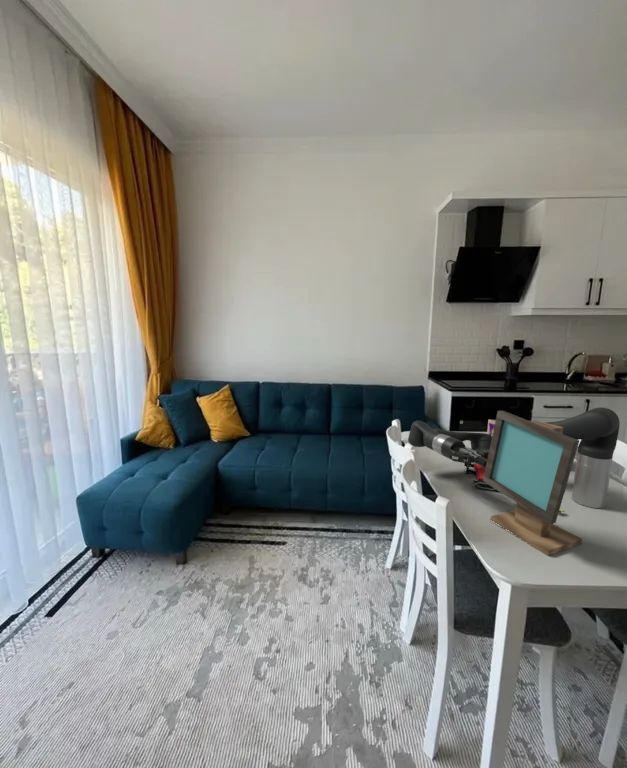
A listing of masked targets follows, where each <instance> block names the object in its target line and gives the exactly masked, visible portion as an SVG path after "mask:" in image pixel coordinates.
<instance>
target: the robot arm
mask: <svg viewBox="0 0 627 768" xmlns="http://www.w3.org/2000/svg"><path fill="white" fill-rule="evenodd" d="M544 423H547V424H551V425H555V426H559V427H563V431H562V434H564V435H566V436H569V437H571V438H574V439H577V440H579V444H578V447H577V452H576V454H577V455H576V461H575V469H574V476H573V477H574V478H573V485H572V490H571V491H572V493H571V499H572V500H573V501H574V502H576V503H577V504H579V505H582V506H586V507H588V508H592V509H602V508H603V509H604V508H605V507H606V503H607V498H608V491H609V485H610V478H611V471H612V463H613V458H614V457H613V455H614V453H615V450H616V448H617V447H616V446H617V443H618V437H619V431H620V424H621V422H620V418H619V416H618V414H617V413H616V412H615V411H614V410H612V409H610V408H607V407H595V408H592V409H589V410H586V411H585V412H583V413H581V414H578V415H575V416H573V417H569V418H566V419H563V420H557V421H548V422H544ZM491 440H492V436H491V435H490V434H487V432H473V431H471V432H470V431H450V430H446V429H440V428H432V427H431V426H430V425H429V424H427V423H426V422H425V421H422V420H415V421H413V422H412V424H411V427H410V430H409V433H408V438H407V441H408V444H409V445H410V446H412V447H416V448H423V447H426V448H427V449H430V450H432V451H434V452H436V453H437V454H439V455H441V456H443V457H445V458H446V459H449V460H451V461H452V462H455V463H462V464H464V463H467V464H473V463H474V464H479V465H481V466H483V467H486V464H487V459H488V454H489V450H490V445H491ZM465 441H469V442H470V447H471V448H470V447H468V446H466V445H465V443H464V442H465Z"/></svg>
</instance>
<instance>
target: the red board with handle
mask: <svg viewBox="0 0 627 768" xmlns="http://www.w3.org/2000/svg"><path fill="white" fill-rule="evenodd" d="M463 465H464V467H465V466H466V468H465V475H469V474H470V473H471V474H473V475H475V476H476V478H477V479H476V480H472V481H473V484H474V488H478V489H486V490H491V491H498V490H496V489H495V488H493V487H492V486H490V485H488V484H487V483H485V482H484V481H483V478H484V473H485V468H486V467H483V466H481V465H479V464H474V463H471V464H467V463H463ZM469 466H470V467H473V469H474V470H472V469H471V468H470V467H469ZM498 492H499V491H498Z"/></svg>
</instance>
